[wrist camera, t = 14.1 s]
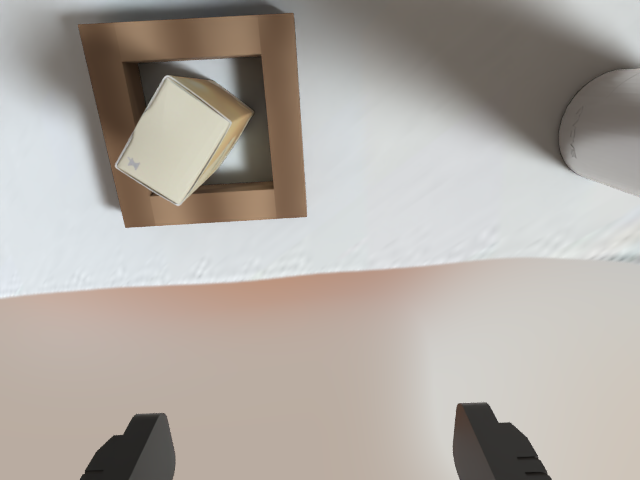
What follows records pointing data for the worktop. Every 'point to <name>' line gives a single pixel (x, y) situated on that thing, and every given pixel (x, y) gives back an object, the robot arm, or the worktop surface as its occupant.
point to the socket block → (198, 44)
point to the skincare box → (183, 136)
